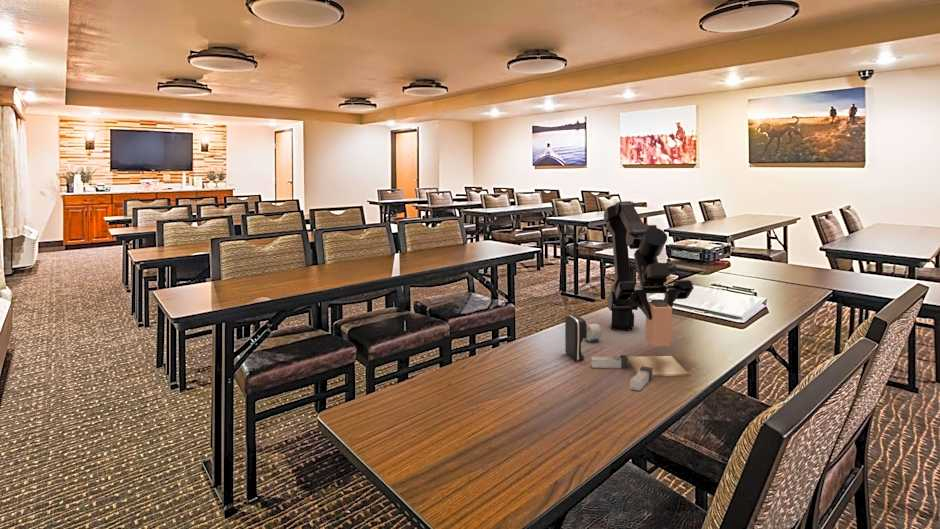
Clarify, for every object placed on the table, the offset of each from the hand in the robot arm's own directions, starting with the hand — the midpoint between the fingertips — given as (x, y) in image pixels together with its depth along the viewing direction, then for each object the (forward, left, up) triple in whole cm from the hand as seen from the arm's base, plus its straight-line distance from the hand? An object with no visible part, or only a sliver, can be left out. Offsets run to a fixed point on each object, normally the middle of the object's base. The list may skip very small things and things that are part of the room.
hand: (660, 319), depth 133 cm
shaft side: (-12, -1, -13) cm, 18 cm away
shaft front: (-5, -10, -13) cm, 17 cm away
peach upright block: (0, +1, -7) cm, 7 cm away
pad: (0, +1, -13) cm, 13 cm away
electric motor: (-18, +19, -14) cm, 29 cm away
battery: (-21, +5, -14) cm, 26 cm away
